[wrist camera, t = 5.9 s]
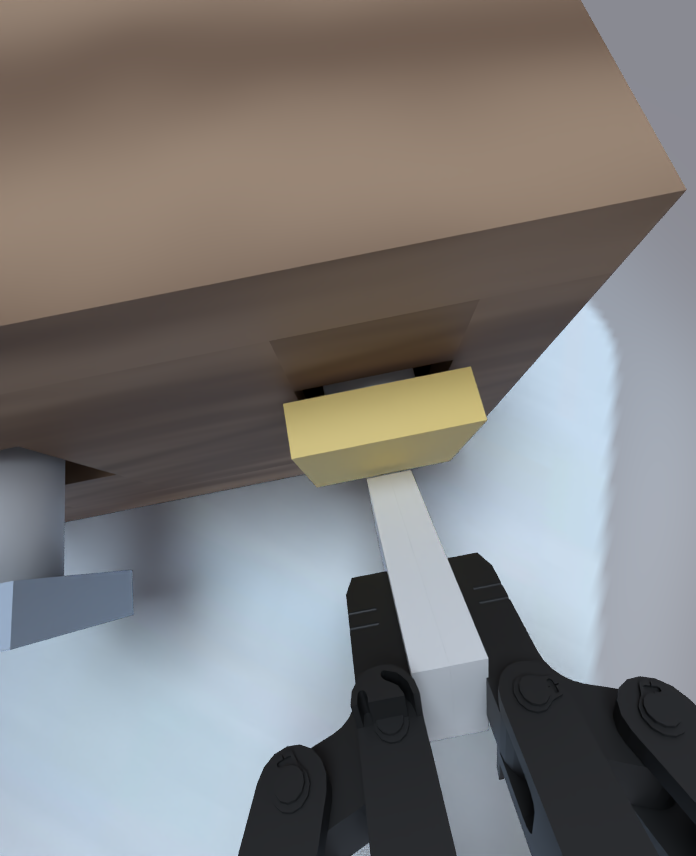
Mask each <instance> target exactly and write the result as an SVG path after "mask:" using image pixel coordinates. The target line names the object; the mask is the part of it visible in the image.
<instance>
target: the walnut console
mask: <svg viewBox="0 0 696 856" xmlns="http://www.w3.org/2000/svg"><path fill="white" fill-rule="evenodd" d="M685 191H686V188H685V186H684V184H683V182H682V181H681V179H680V177H679V175H678V173H677V172H676V170H675V168H674V166H673V164H672V163H671V161H670V159H669V157H668V156H667V154H666V152H665V150H664V148H663V147H662V145H661V143H660V141H659V140H658V138H657V136H656V134H655V132H654V130H653V129H652V127H651V125H650V124H649V122H648V120H647V118H646V116H645V114H644V113H643V111H642V109H641V107H640V105H639V104H638V102H637V100H636V98H635V97H634V95H633V93H632V91H631V90H630V88H629V86H628V84H627V82H626V81H625V79H624V77H623V75H622V73H621V72H620V70H619V68H618V66H617V64H616V63H615V61H614V59H613V57H612V56H611V54H610V52H609V50H608V48H607V46H606V45H605V43H604V41H603V40H602V38H601V36H600V34H599V32H598V30H597V29H596V27H595V25H594V23H593V21H592V20H591V18H590V16H589V14H588V12H587V11H586V9H585V7H584V6H583V3H582V2H581V0H0V450H3V449H8V448H14V447H22V448H25V449H29V450H32V451H36V452H39V453H43V454H46V455H50V456H53V457H57V458H60V459H64V460H65V522H68V521H73V520H78V519H83V518H88V517H93V516H98V515H103V514H108V513H113V512H118V511H123V510H128V509H133V508H138V507H143V506H148V505H153V504H158V503H163V502H168V501H173V500H178V499H183V498H188V497H193V496H198V495H203V494H208V493H213V492H218V491H223V490H228V489H233V488H238V487H243V486H248V485H253V484H258V483H263V482H268V481H273V480H278V479H283V478H288V477H293V476H298V475H303V474H304V472H303V471H302V470H301V469H300V468H299V467H298V466H297V465H296V464H295V462H294V461H293V460H292V459H291V453H290V446H289V440H288V433H287V427H286V420H285V414H284V407H283V404H285V403H290V402H295V401H300V400H305V399H310V398H315V397H320V396H325V395H324V390H323V386H325V385H330V384H335V383H340V382H345V381H350V380H355V379H360V378H365V377H370V376H375V375H380V374H385V373H390V372H395V371H400V370H405V369H410V368H413V371H414V375H415V377H420V376H425V375H430V374H435V373H440V372H445V371H450V370H455V369H460V368H465V367H470V366H471V369H472V372H473V375H474V379H475V382H476V385H477V388H478V391H479V395H480V398H481V401H482V404H483V408H484V411H485V414H486V417H487V415H488V414H489V413H490V412H491V411H492V410H493V409H494V407H495V406H496V405H497V404H498V403H499V402H500V401H501V400H502V398H503V397H504V396H505V395H506V394H507V393H508V392H509V390H510V389H511V388H512V387H513V386H514V385H515V384H516V383H517V381H518V380H519V379H520V378H521V377H522V376H523V375H524V374H525V372H526V371H527V370H528V369H529V368H530V367H531V366H532V364H533V363H534V362H535V361H536V360H537V359H538V358H539V357H540V355H541V354H542V353H543V352H544V351H545V350H546V349H547V347H548V346H549V345H550V344H551V343H552V342H553V341H554V340H555V338H556V337H557V336H558V335H559V334H560V333H561V332H562V330H563V329H564V328H565V327H566V326H567V325H568V324H569V323H570V321H571V320H572V319H573V318H574V317H575V316H576V315H577V313H578V312H579V311H580V310H581V309H582V308H583V307H584V306H585V304H586V303H587V302H588V301H589V300H590V299H591V298H592V296H593V295H594V294H595V293H596V292H597V291H598V290H599V289H600V287H601V286H602V285H603V284H604V283H605V282H606V280H607V279H608V278H609V277H610V276H611V275H612V274H613V273H614V272H615V270H616V269H617V268H618V267H619V266H620V265H621V264H622V262H623V261H624V260H625V259H626V258H627V257H628V256H629V255H630V253H631V252H632V251H633V250H634V249H635V248H636V247H637V245H638V244H639V243H640V242H641V241H642V240H643V239H644V238H645V236H646V235H647V234H648V233H649V232H650V231H651V230H652V228H653V227H654V226H655V225H656V224H657V223H658V222H659V221H660V219H661V218H662V217H663V216H664V215H665V214H666V213H667V211H668V210H669V209H670V208H671V207H672V206H673V205H674V204H675V202H676V201H677V200H678V199H679V198H680V197H681V196H682V194H683V193H684V192H685Z"/></svg>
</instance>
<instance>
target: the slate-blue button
mask: <svg viewBox="0 0 696 856" xmlns="http://www.w3.org/2000/svg"><path fill="white" fill-rule="evenodd" d="M64 524H65V460H64V459H60V458H57V457H53V456H50V455H46V454H43V453H39V452H36V451H32V450H29V449H25V448H22V447H14V448H8V449H3V450H0V652H1V651H6V650H11V649H15V648H18V647H22V646H25V645H29V644H32V643H36V642H39V641H43V640H46V639H50V638H53V637H57V636H60V635H64V634H67V633H71V632H75V631H78V630H82V629H85V628H89V627H92V626H96V625H99V624H103V623H106V622H110V621H113V620H117V619H120V618H124V617H127V616H131V615H134V613H133V582H132V570H124V571H113V572H102V573H91V574H81V575H70V576H64Z"/></svg>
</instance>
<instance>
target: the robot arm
mask: <svg viewBox="0 0 696 856" xmlns="http://www.w3.org/2000/svg"><path fill="white" fill-rule="evenodd" d="M367 483H368V489H369V494H370V500H371V505H372V511H373V517H374V522H375V528H376V533H377V539H378V543H379V548H380V552H381V557H382V561H383V566H384V570H385V572H380V573H375V574H370V575H365V576H360V577H355V578H352V579H351V582H350V585H349V588H348V591H347V594H346V598H347V607H348V615H349V616H348V617H349V626H350V636H351V645H352V655H353V664H354V674H355V683H356V684H355V686H354V688H353V690H352V695H351V709H352V713H351V715H350V717H349V719H348V720H347V721H346V723H345V724H344V725H343V726H342V728H340V729H339V730H338V731H337V732H335V733H334V734H333V735H331V736H330V737H328V738H326V739H325V740H323V741H322V742H320V743H318V744H317V745H315V746H314V747H312V748H308V747H305V746H303V745H294V746H287V747H286V748H284V749H282V750H281V751H279V752H277V753H276V754H274V756H273V757H272V758H271V759H270V761H269V762H268V763H267V764H266V765H265V767H264V769H263V771H262V773H261V776H260V778H259V780H258V783H257V786H256V790H255V794H254V798H253V801H252V805H251V809H250V813H249V816H248V820H247V824H246V828H245V831H244V835H243V839H242V843H241V846H240V850H239V854H238V856H351V855H353V854H354V853H355V852H357V851H358V850H359V849H361V848H362V847H363V846H365V845H366V844H367V843H369V845H370V854H371V856H457V855H456V851H455V847H454V842H453V838H452V834H451V830H450V826H449V821H448V817H447V813H446V809H445V805H444V800H443V796H442V792H441V788H440V784H439V779H438V775H437V771H436V767H435V763H434V758H433V754H432V750H431V746H430V742H432V741H437V740H442V739H447V738H452V737H457V736H462V735H467V734H472V733H478V732H483V731H488V730H489V723H490V726H491V728H492V731H493V734H494V737H495V739H496V742H497V770H498V776H499V780H501V779H504V778H505V780H506V783H507V786H508V789H509V792H510V795H511V798H512V800H513V803H514V806H515V809H516V812H517V815H518V818H519V820H520V823H521V826H522V829H523V832H524V835H525V838H526V840H527V843H528V846H529V849H530V852H531V855H532V856H696V705H695V704H694V703H693V702H692V701H691V700H690V699H688V698H687V697H686V696H685V695H683V694H682V693H681V692H679V691H678V690H677V689H675V688H674V687H673V686H671V685H669V684H666V683H664V682H662V681H660V680H657V679H655V678H647V677H641V676H640V677H635V678H631V679H627V680H626V681H625V682H624V683H623V684H622V685H621V686H620V687H619V689H615V688H609V687H602V686H595V685H589V684H583V683H579V682H575V681H572V680H570V679H568V678H566V677H564V676H562V675H560V674H559V673H557V672H556V671H555V670H553V669H552V668H551V667H550V666H549V665H548V664H547V663H546V662H545V661H544V660H543V659H542V657H541V656H540V654H539V653H538V651H537V649H536V647H535V646H534V644H533V642H532V640H531V638H530V636H529V634H528V632H527V631H526V629H525V627H524V625H523V623H522V621H521V619H520V617H519V615H518V614H517V612H516V610H515V608H514V606H513V604H512V602H511V600H510V599H509V598H508V595H507V593H506V591H505V589H504V587H503V585H501V582H500V580H499V578H498V576H497V574H496V572H495V570H494V568H493V566H492V565H491V564H490V563H489V562H487V561H486V560H485V559H484V558H483V557H482V556H480V555H479V554H478V553H472V554H467V555H462V556H457V557H452V558H447V557H446V554H445V552H444V549H443V547H442V545H441V542H440V540H439V537H438V535H437V532H436V530H435V528H434V525H433V523H432V520H431V518H430V515H429V513H428V511H427V508H426V506H425V503H424V501H423V498H422V496H421V494H420V491H419V489H418V486H417V484H416V481H415V479H414V476H413V474H412V472H411V470H408V471H403V472H398V473H393V474H388V475H383V476H378V477H372V478H367Z"/></svg>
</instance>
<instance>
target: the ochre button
mask: <svg viewBox="0 0 696 856" xmlns="http://www.w3.org/2000/svg"><path fill="white" fill-rule="evenodd" d="M323 390H324V395H325V396H320V397H315V398H310V399H305V400H300V401H295V402H290V403H285V404H283V407H284V414H285V420H286V427H287V433H288V440H289V446H290V453H291V459H292V460H293V461H294V462H295V464H296V465H297V466H298V467H299V468H300V469H301V470H302V471H303V472H304V474H305V475H306V476H307V477H308V478H309V479H310V480H311V481H312V482H313V484H314V485H315V486H316V487H322V486H327V485H332V484H337V483H342V482H347V481H352V480H357V479H362V478H367V477H372V476H377V475H382V474H387V473H392V472H397V471H402V470H407V469H412V468H417V467H422V466H427V465H432V464H437V463H442V462H447V461H450V460H451V459H452V458H453V457H454V456H455V455H456V454H457V453H458V452H459V450H460V449H461V448H462V447H463V446H464V445H465V444H466V443H467V442H468V441H469V439H470V438H471V437H472V436H473V435H474V434H475V433H476V432H477V431H478V430H479V429H480V427H481V426H482V425H483V424H484V423H485V422H486V421H487V417H486V414H485V411H484V408H483V404H482V401H481V398H480V395H479V391H478V388H477V385H476V382H475V379H474V375H473V372H472V369H471V366H470V367H465V368H460V369H455V370H450V371H445V372H440V373H435V374H430V375H425V376H420V377H415V375H414V371H413V368H410V369H405V370H400V371H395V372H390V373H385V374H380V375H375V376H370V377H365V378H360V379H355V380H350V381H345V382H340V383H335V384H330V385H325V386H323Z"/></svg>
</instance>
